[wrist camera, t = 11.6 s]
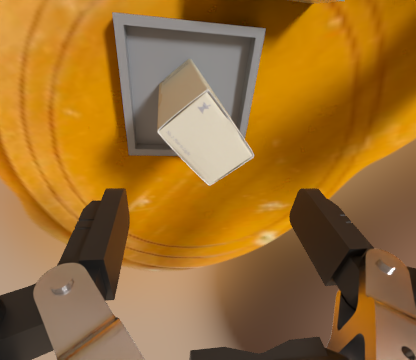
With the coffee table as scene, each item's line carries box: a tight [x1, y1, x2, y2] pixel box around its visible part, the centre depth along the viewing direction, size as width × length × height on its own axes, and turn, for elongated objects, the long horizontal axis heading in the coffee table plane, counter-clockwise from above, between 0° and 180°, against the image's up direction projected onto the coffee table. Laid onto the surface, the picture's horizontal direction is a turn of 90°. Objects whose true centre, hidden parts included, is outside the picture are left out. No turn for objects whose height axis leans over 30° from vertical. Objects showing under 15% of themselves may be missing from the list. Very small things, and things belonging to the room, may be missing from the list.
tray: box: [112, 12, 266, 156], centre depth 25 cm, size 14×14×2 cm
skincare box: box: [157, 59, 254, 186], centre depth 21 cm, size 6×4×12 cm
